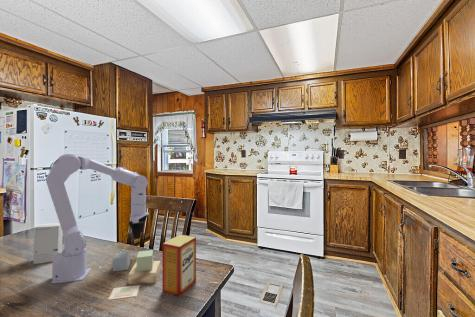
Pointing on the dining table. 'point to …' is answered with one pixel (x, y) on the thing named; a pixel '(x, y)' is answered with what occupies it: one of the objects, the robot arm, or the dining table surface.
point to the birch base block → (144, 274)
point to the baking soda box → (178, 264)
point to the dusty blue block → (121, 261)
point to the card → (124, 292)
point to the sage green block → (144, 260)
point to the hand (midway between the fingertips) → (138, 235)
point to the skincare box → (47, 242)
